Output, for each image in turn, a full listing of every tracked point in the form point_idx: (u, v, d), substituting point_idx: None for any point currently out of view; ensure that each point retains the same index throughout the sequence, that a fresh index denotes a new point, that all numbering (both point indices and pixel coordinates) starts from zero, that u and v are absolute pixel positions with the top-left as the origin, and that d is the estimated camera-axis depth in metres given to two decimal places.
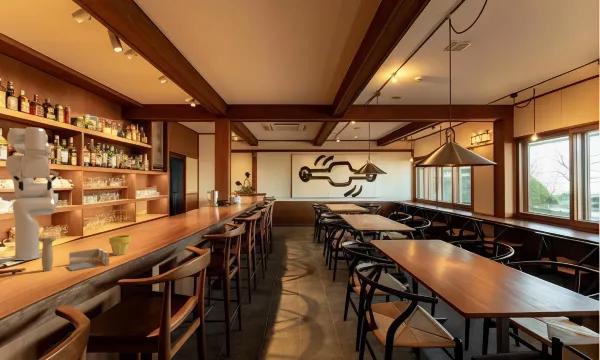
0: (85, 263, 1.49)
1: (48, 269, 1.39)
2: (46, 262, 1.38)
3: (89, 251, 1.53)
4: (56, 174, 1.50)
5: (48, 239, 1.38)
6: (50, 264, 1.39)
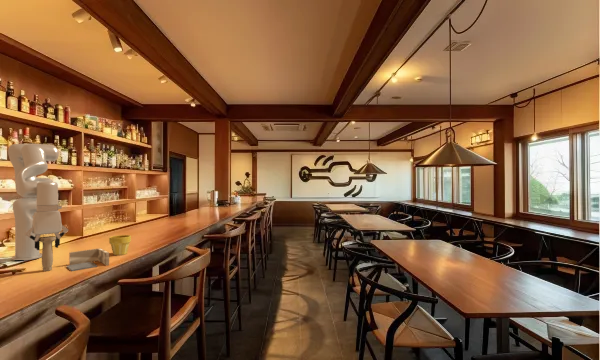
0: (85, 263, 1.49)
1: (48, 269, 1.39)
2: (46, 262, 1.38)
3: (89, 251, 1.53)
4: (65, 230, 1.44)
5: (48, 239, 1.38)
6: (50, 264, 1.39)
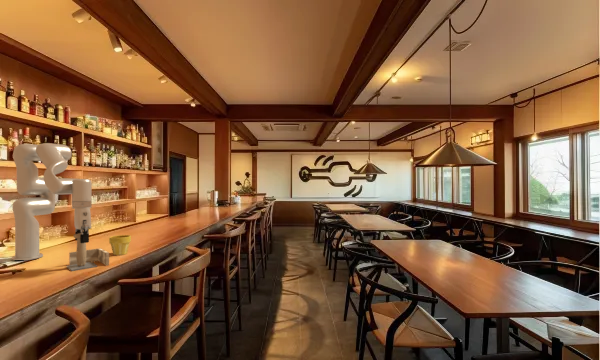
0: (85, 263, 1.49)
1: (77, 264, 1.44)
2: (76, 257, 1.44)
3: (89, 251, 1.53)
4: (84, 227, 1.39)
5: None
6: (77, 260, 1.43)
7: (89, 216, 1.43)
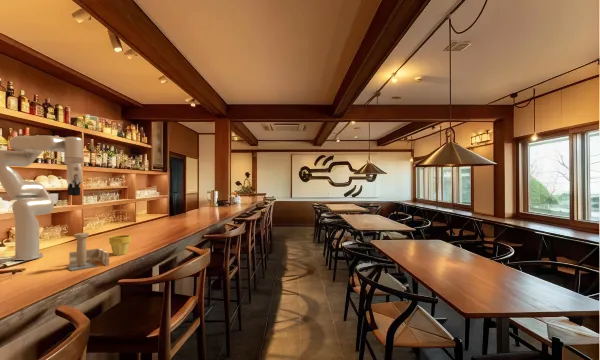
0: (85, 263, 1.49)
1: (77, 264, 1.44)
2: (76, 257, 1.44)
3: (89, 251, 1.53)
4: (76, 180, 1.50)
5: None
6: (77, 260, 1.43)
7: (80, 171, 1.54)
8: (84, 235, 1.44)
